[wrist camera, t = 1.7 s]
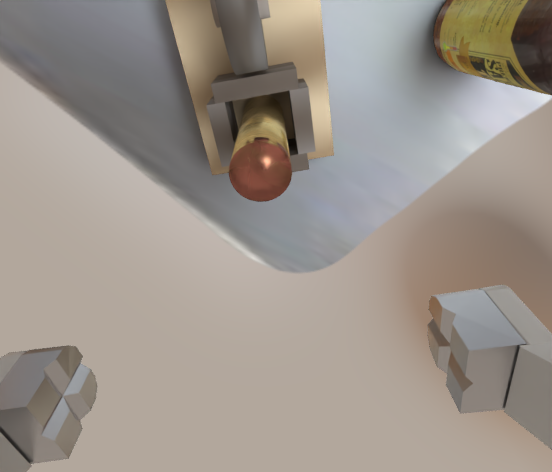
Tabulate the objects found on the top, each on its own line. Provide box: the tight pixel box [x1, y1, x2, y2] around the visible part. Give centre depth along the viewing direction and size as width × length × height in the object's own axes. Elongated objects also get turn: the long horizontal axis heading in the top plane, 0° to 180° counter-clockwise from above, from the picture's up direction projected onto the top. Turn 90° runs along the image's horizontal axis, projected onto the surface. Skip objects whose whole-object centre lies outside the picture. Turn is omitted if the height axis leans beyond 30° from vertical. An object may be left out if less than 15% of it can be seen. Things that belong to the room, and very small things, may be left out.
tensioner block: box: [165, 0, 334, 175], centre depth 25 cm, size 14×10×11 cm
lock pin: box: [229, 95, 292, 202], centre depth 23 cm, size 3×3×12 cm
